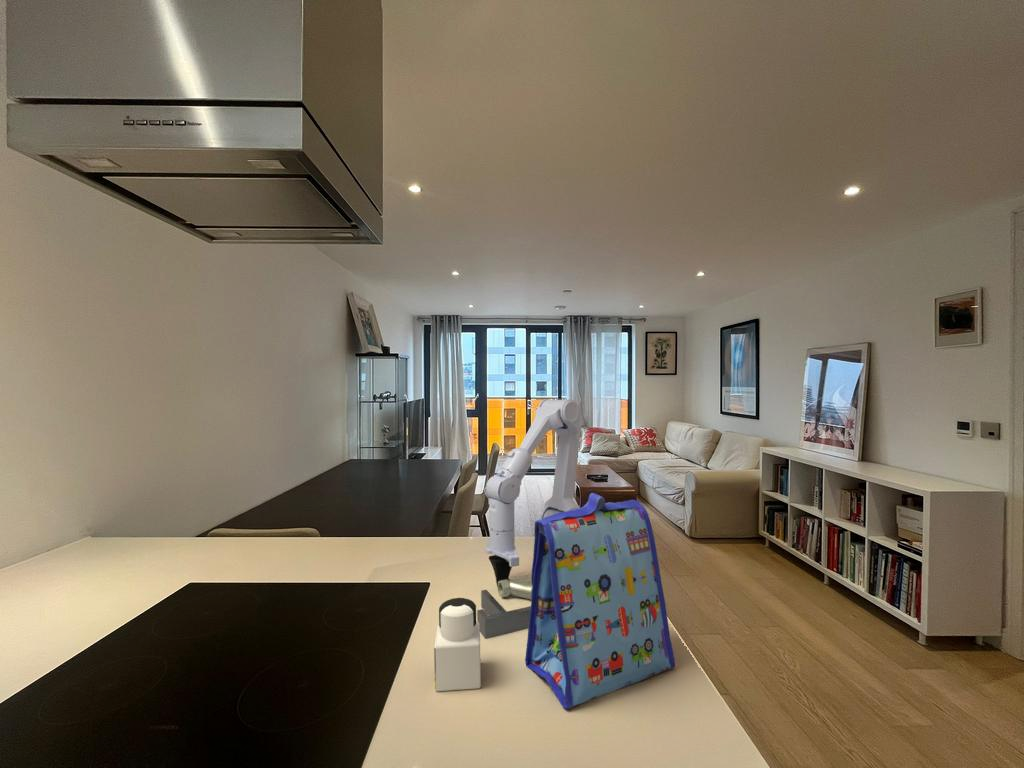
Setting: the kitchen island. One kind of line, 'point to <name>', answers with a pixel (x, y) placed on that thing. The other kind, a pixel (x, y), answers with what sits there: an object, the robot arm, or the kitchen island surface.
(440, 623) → the medicine bottle
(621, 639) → the lunch bag
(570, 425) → the robot arm
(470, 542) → the kitchen island surface
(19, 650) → the kitchen island surface
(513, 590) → the pipe fitting
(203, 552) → the kitchen island surface
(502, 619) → the grey angle bracket
